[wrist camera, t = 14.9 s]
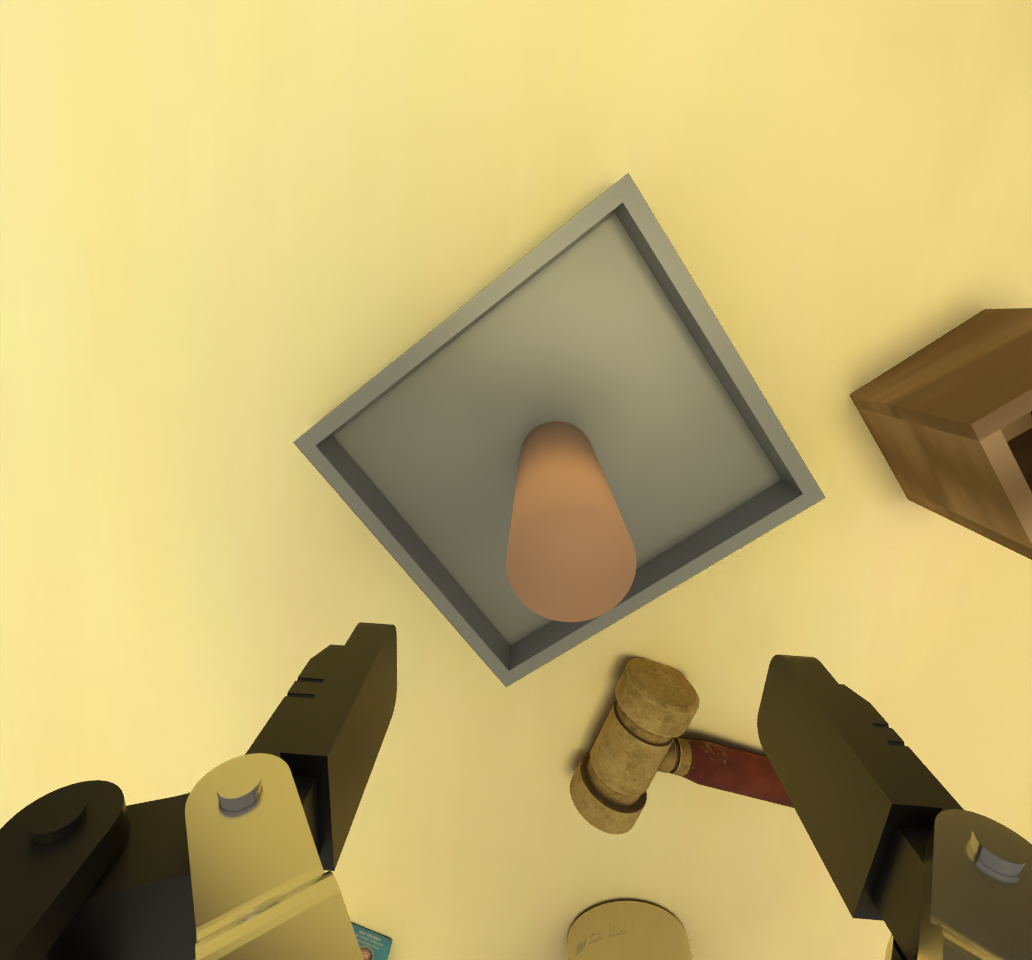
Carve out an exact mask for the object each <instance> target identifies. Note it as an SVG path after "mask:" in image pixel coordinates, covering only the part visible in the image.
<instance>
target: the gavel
mask: <svg viewBox="0 0 1032 960" xmlns="http://www.w3.org/2000/svg"><path fill="white" fill-rule="evenodd" d="M615 695H616V699H617V700H615V702H614V704H613V706H612V708H611V710H610V712H609V715H608V717H607V719H606V721H605V723H604V725H603V727H602V729H601V731H600V733H599V735H598V737H597V739H596V741H595V743H594V746H593V748H592V750H591V751H589V752H588V753H586V754H585V755H584V756H583V757H582V759H581V761H580V763H579V765H578V767H577V769H576V771H575V773H574V775H573V777H572V780H571V783H570V793H571V798H572V800H573V803H574V805H575V807H576V808H577V810H578V811H579V813H580V814H581V815H582V816H583V818H585V819H586V820H587V821H588V822H589V823H590V824H591V825H593V826H594V827H596V828H598V829H599V830H601V831H604V832H607V833H610V834H623V833H625V832H628V831H629V830H630V829H632V827H633V826H634V824H635V822H636V820H637V818H638V817H639V815H640V813H641V811H642V809H643V808H644V806H645V803H646V800H647V793H646V790H647V788H648V787H649V785H650V783H651V781H652V779H653V777H654V776H655V774H656V772H657V771H661V772H665V773H668V772H669V773H671V774H675V775H679V776H682V777H684V778H686V779H689V780H691V781H693V782H695V783H697V784H700V785H704V786H708V787H712V788H716V789H720V790H724V791H728V792H732V793H736V794H740V795H744V796H748V797H752V798H756V799H761V800H765V801H769V802H773V803H777V804H781V805H785V806H789V807H793V808H794V806H793V804H792V802H791V801H790V799H789V797H788V795H787V793H786V791H785V789H784V787H783V786H782V784H781V782H780V780H779V778H778V776H777V774H776V772H775V770H774V769H773V767H772V765H771V763H770V761H769V759H768V757H764V756H761V755H757V754H753V753H749V752H745V751H741V750H737V749H734V748H730V747H726V746H722V745H718V744H714V743H711V742H707V741H703V740H691V739H681V738H678V736H681V735H682V734H684V732H685V731H686V729H687V727H688V725H689V724H690V722H691V720H692V718H693V716H694V715H695V713H696V711H697V709H698V707H699V698H698V695H697V693H696V691H695V690H694V688H693V687H692V685H691V684H690V683H689V682H688V680H687V679H686V678H685V677H684V676H683V675H681V674H680V673H679V672H678V671H676V670H675V669H673V668H672V667H670V666H667V665H664V664H661V663H658V662H655V661H652V660H649V659H646V658H634V659H631V660H630V661H629V662H628V663H627V665H626V667H625V669H624V671H623V673H622V675H621V677H620V680H619V682H618V684H617V686H616V688H615Z"/></svg>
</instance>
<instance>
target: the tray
mask: <svg viewBox="0 0 1032 960" xmlns="http://www.w3.org/2000/svg"><path fill="white" fill-rule="evenodd" d="M553 421H561V422H567V423H570V424H572V425H574V426H576V427H578V428H579V429H580V430H582V431H583V432H584V433H585V435H586V436H587V437H588V439H589V441H590V443H591V445H592V448H593V450H594V452H595V455H596V457H597V459H598V462H599V464H600V467H601V469H602V471H603V474H604V476H605V478H606V481H607V483H608V486H609V488H610V490H611V493H612V495H613V497H614V500H615V502H616V504H617V507H618V509H619V512H620V514H621V516H622V519H623V521H624V523H625V526H626V528H627V531H628V533H629V535H630V538H631V540H632V542H633V545H634V548H635V552H636V560H637V561H636V573H635V577H634V580H633V583H632V585H631V587H630V589H629V591H628V592H627V594H626V595H625V597H624V598H623V599H622V600H621V601H620V603H618V604H617V605H616V606H615V607H614V608H612V609H611V610H610V611H608V612H607V613H605V614H603V615H601V616H599V617H596V618H593V619H590V620H586V621H580V622H560V621H555V620H551V619H548V618H545V617H543V616H541V615H538V614H536V613H535V612H533V611H532V610H530V609H529V608H528V607H526V606H525V605H524V604H523V603H522V602H521V601H520V600H519V599H518V597H517V596H516V594H515V593H514V591H513V589H512V587H511V586H510V583H509V580H508V576H507V571H506V557H507V549H508V541H509V534H510V526H511V519H512V511H513V504H514V496H515V489H516V481H517V474H518V466H519V459H520V451H521V447H522V444H523V442H524V440H525V438H526V437H527V436H528V434H529V433H530V432H531V431H532V430H534V429H535V428H536V427H538V426H540V425H542V424H544V423H548V422H553ZM293 443H294V444H295V445H296V446H297V447H298V448H299V450H300V451H301V452H302V453H303V454H304V455H305V456H306V458H307V459H308V460H309V461H310V462H311V463H312V465H313V466H314V467H315V468H316V469H317V470H318V471H319V473H320V474H321V475H322V476H323V477H324V478H325V479H326V481H327V482H328V483H329V484H330V485H331V486H332V488H333V489H334V490H335V491H336V492H337V493H338V494H339V496H340V497H341V498H342V499H343V500H344V501H345V502H346V504H347V505H348V506H349V507H350V508H351V509H352V511H353V512H354V513H355V514H356V515H357V516H358V517H359V519H360V520H361V521H362V522H363V523H364V524H365V525H366V527H367V528H368V529H369V530H370V531H371V532H372V534H373V535H374V536H375V537H376V538H377V539H378V540H379V542H380V543H381V544H382V545H383V546H384V547H385V548H386V550H387V551H388V552H389V553H390V554H391V555H392V557H393V558H394V559H395V560H396V561H397V562H398V563H399V565H400V566H401V567H402V568H403V569H404V570H405V572H406V573H407V574H408V575H409V576H410V577H411V578H412V580H413V581H414V582H415V583H416V584H417V585H418V586H419V588H420V589H421V590H422V591H423V592H424V593H425V595H426V596H427V597H428V598H429V599H430V600H431V601H432V603H433V604H434V605H435V606H436V607H437V608H438V609H439V611H440V612H441V613H442V614H443V615H444V616H445V618H446V619H447V620H448V621H449V622H450V623H451V624H452V626H453V627H454V628H455V629H456V630H457V631H458V632H459V634H460V635H461V636H462V637H463V638H464V639H465V641H466V642H467V643H468V644H469V645H470V646H471V647H472V649H473V650H474V651H475V652H476V653H477V654H478V655H479V657H480V658H481V659H482V660H483V661H484V662H485V664H486V665H487V666H488V667H489V668H490V669H491V670H492V672H493V673H494V674H495V675H496V676H497V677H498V679H499V680H500V681H501V682H502V683H503V684H504V685H505V687H507V686H509V685H511V684H512V683H514V682H516V681H517V680H519V679H521V678H522V677H524V676H526V675H527V674H529V673H531V672H532V671H534V670H536V669H538V668H539V667H541V666H543V665H544V664H546V663H548V662H549V661H551V660H553V659H554V658H556V657H558V656H559V655H561V654H563V653H564V652H566V651H568V650H570V649H571V648H573V647H575V646H576V645H578V644H580V643H581V642H583V641H585V640H586V639H588V638H590V637H591V636H593V635H595V634H597V633H598V632H600V631H602V630H603V629H605V628H607V627H608V626H610V625H612V624H613V623H615V622H617V621H618V620H620V619H622V618H623V617H625V616H627V615H629V614H630V613H632V612H634V611H635V610H637V609H639V608H640V607H642V606H644V605H645V604H647V603H649V602H650V601H652V600H654V599H655V598H657V597H659V596H661V595H662V594H664V593H666V592H667V591H669V590H671V589H672V588H674V587H676V586H677V585H679V584H681V583H682V582H684V581H686V580H687V579H689V578H691V577H693V576H694V575H696V574H698V573H699V572H701V571H703V570H704V569H706V568H708V567H709V566H711V565H713V564H714V563H716V562H718V561H719V560H721V559H723V558H725V557H726V556H728V555H730V554H731V553H733V552H735V551H736V550H738V549H740V548H741V547H743V546H745V545H746V544H748V543H750V542H751V541H753V540H755V539H757V538H758V537H760V536H762V535H763V534H765V533H767V532H768V531H770V530H772V529H773V528H775V527H777V526H778V525H780V524H782V523H784V522H785V521H787V520H789V519H790V518H792V517H794V516H795V515H797V514H799V513H800V512H802V511H804V510H805V509H807V508H809V507H810V506H812V505H814V504H816V503H817V502H819V501H821V500H822V499H824V498H825V496H824V494H823V493H822V491H821V489H820V488H819V486H818V484H817V483H816V481H815V480H814V478H813V476H812V475H811V473H810V471H809V470H808V468H807V466H806V465H805V463H804V461H803V460H802V458H801V456H800V455H799V453H798V452H797V450H796V448H795V447H794V445H793V443H792V442H791V440H790V438H789V437H788V435H787V433H786V432H785V430H784V428H783V427H782V425H781V424H780V422H779V420H778V419H777V417H776V415H775V414H774V412H773V410H772V409H771V407H770V405H769V404H768V402H767V400H766V399H765V397H764V395H763V394H762V392H761V391H760V389H759V387H758V386H757V384H756V382H755V381H754V379H753V377H752V376H751V374H750V372H749V371H748V369H747V367H746V366H745V364H744V363H743V361H742V359H741V358H740V356H739V354H738V353H737V351H736V349H735V348H734V346H733V344H732V343H731V341H730V339H729V338H728V336H727V335H726V333H725V331H724V330H723V328H722V326H721V325H720V323H719V321H718V320H717V318H716V316H715V315H714V313H713V311H712V310H711V308H710V307H709V305H708V303H707V302H706V300H705V298H704V297H703V295H702V293H701V292H700V290H699V288H698V287H697V285H696V283H695V282H694V280H693V278H692V277H691V275H690V274H689V272H688V270H687V269H686V267H685V265H684V264H683V262H682V260H681V259H680V257H679V255H678V254H677V252H676V250H675V249H674V247H673V246H672V244H671V242H670V241H669V239H668V237H667V236H666V234H665V232H664V231H663V229H662V227H661V226H660V224H659V222H658V221H657V219H656V218H655V216H654V214H653V213H652V211H651V209H650V208H649V206H648V204H647V203H646V201H645V199H644V198H643V196H642V194H641V193H640V191H639V190H638V188H637V186H636V185H635V183H634V181H633V180H632V178H631V176H630V175H629V173H628V174H626V175H625V176H624V177H623V178H621V179H620V180H619V181H618V182H616V183H615V184H614V185H613V186H611V187H610V188H609V189H608V190H606V191H605V192H604V193H603V194H601V195H600V196H599V197H598V198H596V199H595V200H594V201H593V202H592V203H590V204H589V205H588V206H587V207H585V208H584V209H583V210H582V211H580V212H579V213H578V214H577V215H575V216H574V217H573V218H572V219H570V220H569V221H568V222H567V223H565V224H564V225H563V226H562V227H560V228H559V229H558V230H557V231H555V232H554V233H553V234H552V235H550V236H549V237H548V238H547V239H546V240H544V241H543V242H542V243H541V244H539V245H538V246H537V247H536V248H534V249H533V250H532V251H531V252H529V253H528V254H527V255H526V256H524V257H523V258H522V259H521V260H519V261H518V262H517V263H516V264H514V265H513V266H512V267H511V268H509V269H508V270H507V271H506V272H504V273H503V274H502V275H501V276H499V277H498V278H497V279H496V280H495V281H493V282H492V283H491V284H490V285H488V286H487V287H486V288H485V289H483V290H482V291H481V292H480V293H478V294H477V295H476V296H475V297H473V298H472V299H471V300H470V301H468V302H467V303H466V304H465V305H463V306H462V307H461V308H460V309H458V310H457V311H456V312H455V313H453V314H452V315H451V316H450V317H449V318H447V319H446V320H445V321H444V322H442V323H441V324H440V325H439V326H437V327H436V328H435V329H434V330H432V331H431V332H430V333H429V334H427V335H426V336H425V337H424V338H422V339H421V340H420V341H419V342H417V343H416V344H415V345H414V346H412V347H411V348H410V349H409V350H407V351H406V352H405V353H404V354H403V355H401V356H400V357H399V358H398V359H396V360H395V361H394V362H393V363H391V364H390V365H389V366H388V367H386V368H385V369H384V370H383V371H381V372H380V373H379V374H378V375H376V376H375V377H374V378H373V379H371V380H370V381H369V382H368V383H366V384H365V385H364V386H363V387H361V388H360V389H359V390H358V391H357V392H355V393H354V394H353V395H352V396H350V397H349V398H348V399H347V400H345V401H344V402H343V403H342V404H340V405H339V406H338V407H337V408H335V409H334V410H333V411H332V412H330V413H329V414H328V415H327V416H325V417H324V418H323V419H322V420H320V421H319V422H318V423H317V424H315V425H314V426H313V427H312V428H310V429H309V430H308V431H307V432H306V433H304V434H303V435H302V436H301V437H299V438H298V439H297V440H296V441H294V442H293Z"/></svg>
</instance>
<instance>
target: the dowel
mask: <svg viewBox="0 0 1032 960" xmlns="http://www.w3.org/2000/svg"><path fill="white" fill-rule="evenodd" d="M636 561H637V560H636V552H635V548H634V545H633V542H632V540H631V538H630V535H629V533H628V531H627V528H626V526H625V523H624V521H623V519H622V516H621V514H620V512H619V509H618V507H617V504H616V502H615V500H614V497H613V495H612V493H611V490H610V488H609V486H608V483H607V481H606V478H605V476H604V474H603V471H602V469H601V467H600V464H599V462H598V459H597V457H596V455H595V452H594V450H593V448H592V445H591V443H590V441H589V439H588V437H587V436H586V435H585V433H584V432H583V431H582V430H580V429H579V428H578V427H576V426H574V425H572V424H570V423H567V422H561V421H553V422H548V423H544V424H542V425H540V426H538V427H536V428H535V429H534V430H532V431H531V432H530V433H529V434H528V436H527V437H526V438H525V440H524V442H523V444H522V447H521V451H520V459H519V466H518V474H517V481H516V489H515V496H514V504H513V511H512V519H511V526H510V534H509V541H508V549H507V557H506V571H507V576H508V580H509V583H510V586H511V587H512V589H513V591H514V593H515V594H516V596H517V597H518V599H519V600H520V601H521V602H522V603H523V604H524V605H525V606H526V607H528V608H529V609H530V610H532V611H533V612H535V613H536V614H538V615H541V616H543V617H545V618H548V619H551V620H555V621H560V622H580V621H586V620H590V619H593V618H596V617H599V616H601V615H603V614H605V613H607V612H608V611H610V610H611V609H612V608H614V607H615V606H616V605H617V604H618V603H620V601H621V600H622V599H623V598H624V597H625V595H626V594H627V592H628V591H629V589H630V587H631V585H632V583H633V580H634V577H635V573H636Z"/></svg>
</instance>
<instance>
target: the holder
mask: <svg viewBox="0 0 1032 960" xmlns="http://www.w3.org/2000/svg"><path fill="white" fill-rule="evenodd" d="M850 396H851V398H852V400H853V401H854V403H855V405H856V407H857V409H858V410H859V412H860V414H861V416H862V417H863V419H864V421H865V423H866V425H867V426H868V428H869V430H870V432H871V433H872V435H873V437H874V439H875V441H876V442H877V444H878V446H879V448H880V449H881V451H882V453H883V455H884V457H885V458H886V460H887V462H888V464H889V465H890V467H891V469H892V471H893V473H894V474H895V476H896V478H897V480H898V481H899V483H900V485H901V487H902V489H903V490H904V492H905V494H906V496H907V498H908V499H909V500H910V501H912V502H914V503H916V504H919V505H921V506H923V507H925V508H927V509H929V510H931V511H933V512H935V513H937V514H939V515H941V516H943V517H945V518H947V519H949V520H951V521H953V522H955V523H957V524H960V525H962V526H964V527H966V528H968V529H970V530H972V531H974V532H976V533H978V534H980V535H982V536H984V537H986V538H988V539H990V540H992V541H994V542H996V543H998V544H1001V545H1003V546H1005V547H1007V548H1009V549H1011V550H1013V551H1015V552H1017V553H1019V554H1021V555H1023V556H1025V557H1027V558H1029V559H1031V560H1032V308H1022V309H985V310H984V311H982V312H980V313H979V314H977V315H976V316H974V317H973V318H971V319H969V320H968V321H966V322H965V323H963V324H961V325H960V326H958V327H957V328H955V329H954V330H952V331H950V332H949V333H947V334H946V335H944V336H942V337H941V338H939V339H938V340H936V341H935V342H933V343H931V344H930V345H928V346H927V347H925V348H923V349H922V350H920V351H919V352H917V353H916V354H914V355H912V356H911V357H909V358H908V359H906V360H904V361H903V362H901V363H900V364H898V365H897V366H895V367H893V368H892V369H890V370H889V371H887V372H885V373H884V374H882V375H881V376H879V377H878V378H876V379H874V380H873V381H871V382H870V383H868V384H866V385H865V386H863V387H862V388H860V389H859V390H857V391H855V392H854V393H852V394H851V395H850Z"/></svg>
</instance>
